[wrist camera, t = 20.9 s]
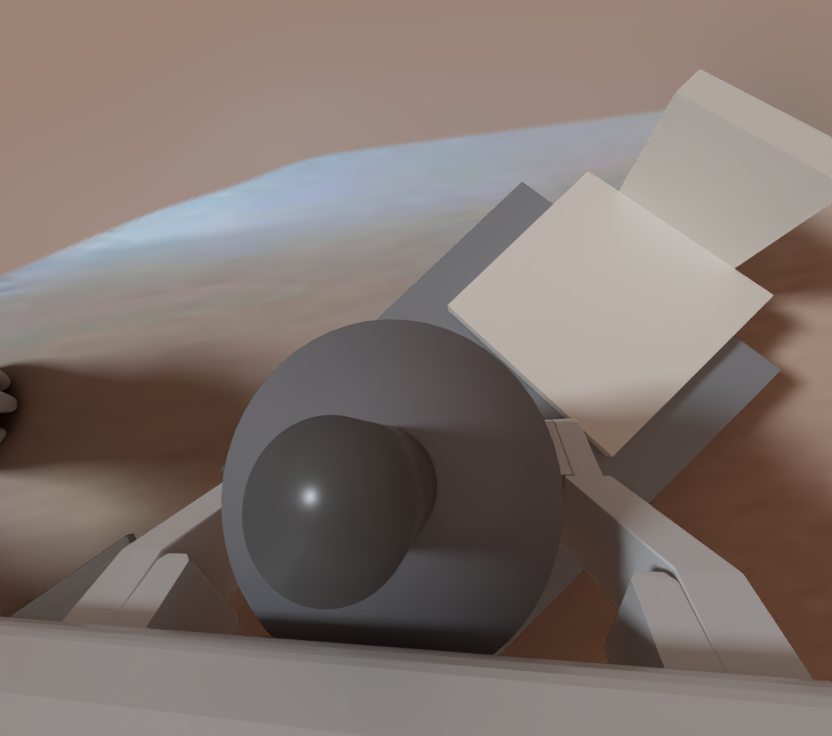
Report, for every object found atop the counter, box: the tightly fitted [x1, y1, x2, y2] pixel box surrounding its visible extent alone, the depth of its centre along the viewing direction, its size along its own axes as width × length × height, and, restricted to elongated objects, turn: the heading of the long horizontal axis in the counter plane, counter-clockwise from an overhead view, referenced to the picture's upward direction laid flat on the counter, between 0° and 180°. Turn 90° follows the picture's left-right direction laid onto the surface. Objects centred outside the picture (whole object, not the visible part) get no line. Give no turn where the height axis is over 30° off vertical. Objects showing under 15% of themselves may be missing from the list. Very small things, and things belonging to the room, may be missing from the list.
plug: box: [221, 319, 563, 655], centre depth 9 cm, size 5×5×12 cm
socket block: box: [219, 182, 781, 655], centre depth 15 cm, size 18×12×2 cm, turn 133°
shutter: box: [448, 69, 832, 457], centre depth 11 cm, size 9×8×5 cm
